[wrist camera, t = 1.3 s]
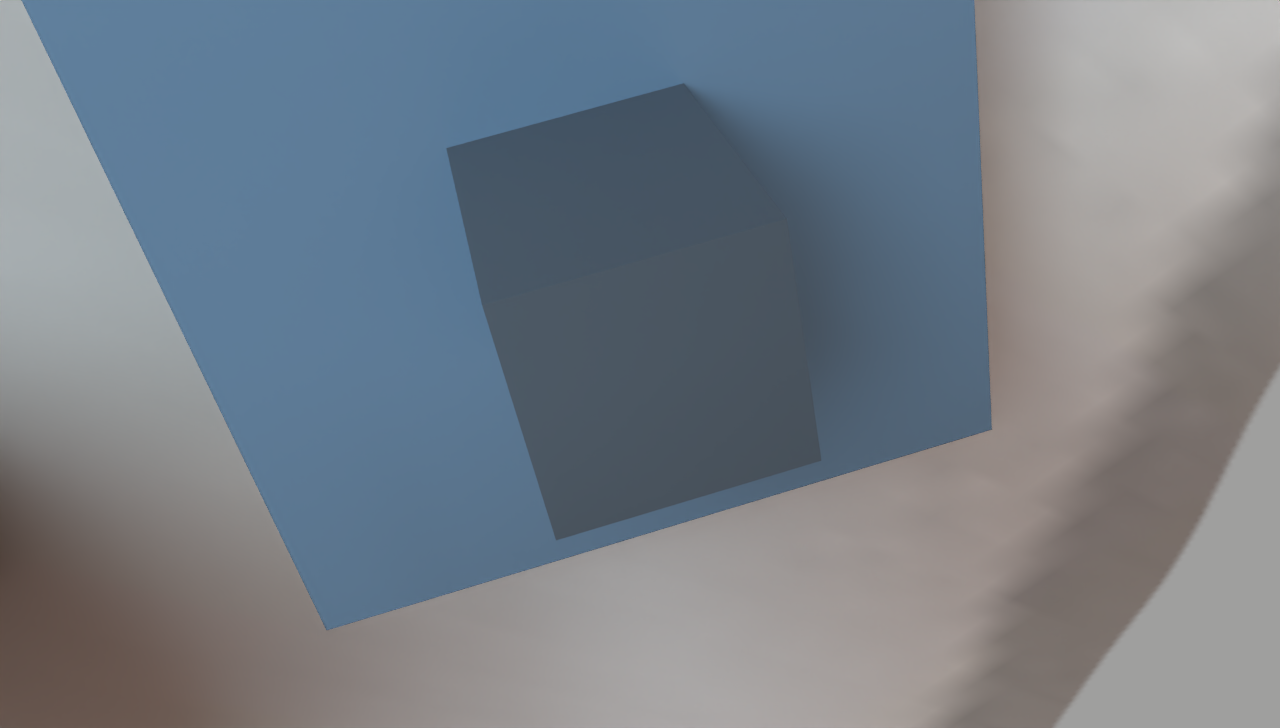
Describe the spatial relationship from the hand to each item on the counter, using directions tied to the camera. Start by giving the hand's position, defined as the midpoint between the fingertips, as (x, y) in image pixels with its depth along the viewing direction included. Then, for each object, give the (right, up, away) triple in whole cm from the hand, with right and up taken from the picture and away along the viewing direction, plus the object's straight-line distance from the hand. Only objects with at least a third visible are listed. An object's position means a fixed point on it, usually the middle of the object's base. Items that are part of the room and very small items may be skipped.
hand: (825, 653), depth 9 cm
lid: (-2, +5, +8) cm, 10 cm away
